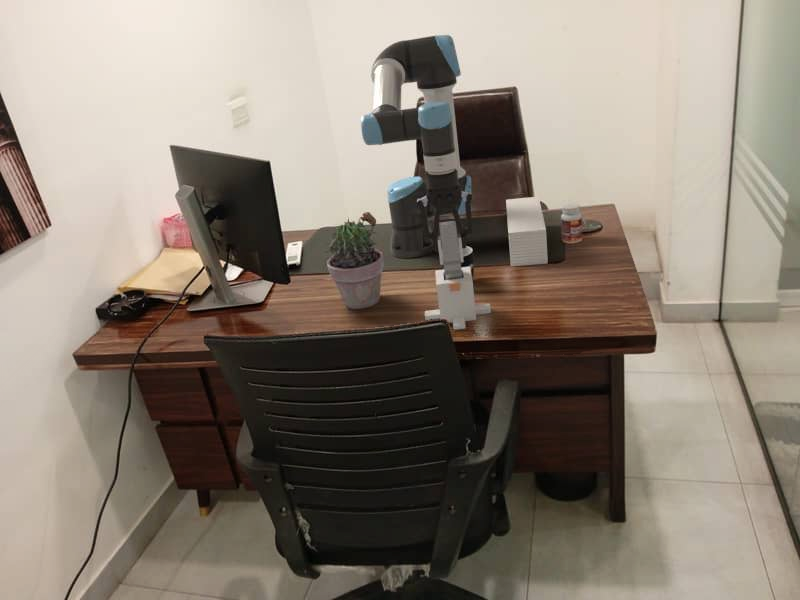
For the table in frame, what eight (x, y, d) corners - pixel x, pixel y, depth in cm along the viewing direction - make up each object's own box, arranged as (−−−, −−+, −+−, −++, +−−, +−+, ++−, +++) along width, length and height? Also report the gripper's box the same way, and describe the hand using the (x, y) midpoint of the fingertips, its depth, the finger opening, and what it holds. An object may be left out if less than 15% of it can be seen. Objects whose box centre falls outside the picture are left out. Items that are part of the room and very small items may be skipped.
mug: (474, 290, 186) (470, 256, 181) (442, 291, 188) (438, 258, 184) (478, 273, 196) (475, 240, 192) (448, 274, 198) (444, 242, 194)
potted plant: (313, 310, 188) (295, 227, 178) (361, 284, 201) (346, 204, 191) (358, 324, 177) (342, 235, 166) (406, 294, 189) (393, 210, 179)
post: (449, 309, 176) (438, 222, 166) (465, 307, 175) (455, 220, 165) (449, 316, 172) (439, 228, 162) (466, 314, 172) (456, 226, 162)
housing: (425, 303, 182) (420, 266, 178) (487, 296, 181) (484, 258, 176) (425, 332, 167) (420, 293, 162) (493, 325, 166) (490, 284, 161)
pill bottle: (572, 245, 205) (571, 210, 200) (557, 241, 210) (556, 207, 205) (586, 239, 208) (585, 204, 203) (571, 235, 213) (570, 201, 208)
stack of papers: (508, 230, 226) (505, 199, 221) (540, 227, 224) (538, 196, 220) (510, 267, 197) (508, 232, 193) (547, 264, 196) (546, 229, 191)
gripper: (404, 179, 155) (417, 271, 165) (479, 169, 154) (487, 263, 164) (405, 171, 162) (417, 260, 172) (476, 161, 161) (485, 251, 170)
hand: (451, 261), depth 168 cm, fingers closed on post, 4 cm apart
